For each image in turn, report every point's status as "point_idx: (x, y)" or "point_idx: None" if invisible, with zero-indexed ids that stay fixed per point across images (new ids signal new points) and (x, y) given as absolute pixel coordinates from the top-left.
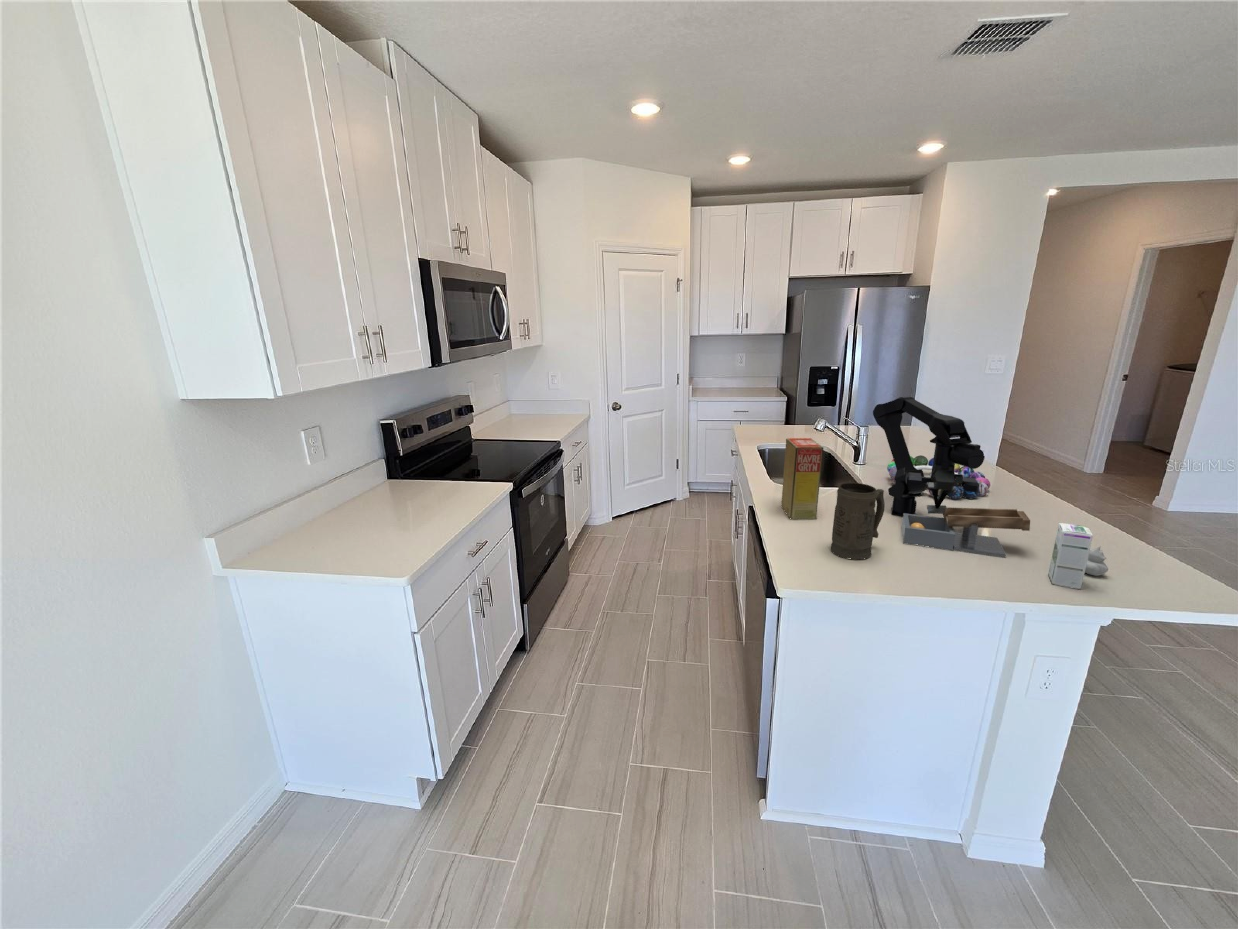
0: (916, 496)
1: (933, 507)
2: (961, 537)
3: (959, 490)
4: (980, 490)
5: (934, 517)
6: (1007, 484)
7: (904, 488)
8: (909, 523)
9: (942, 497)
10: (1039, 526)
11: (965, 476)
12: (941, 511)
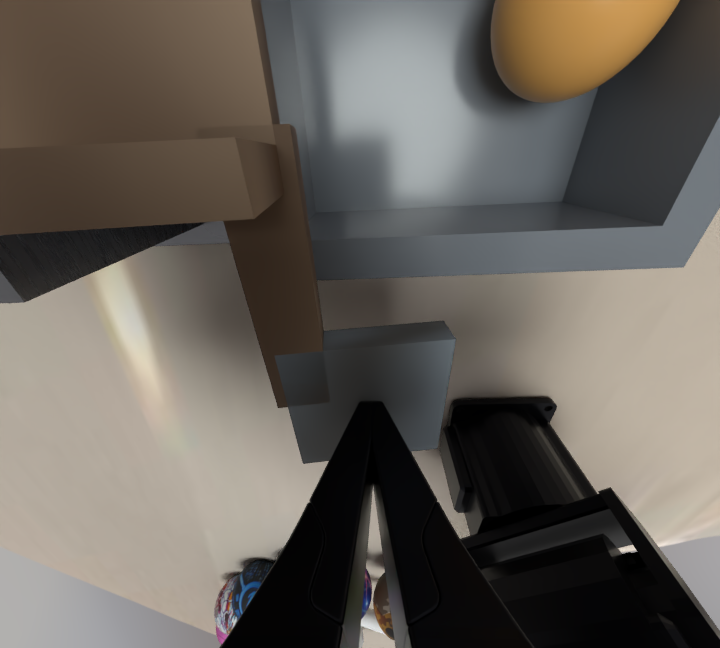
0: (471, 537)
1: (397, 413)
2: None
3: None
4: (231, 599)
5: (394, 260)
6: (203, 616)
7: (703, 624)
8: (568, 211)
9: (324, 543)
10: (16, 461)
11: None
12: (332, 346)
